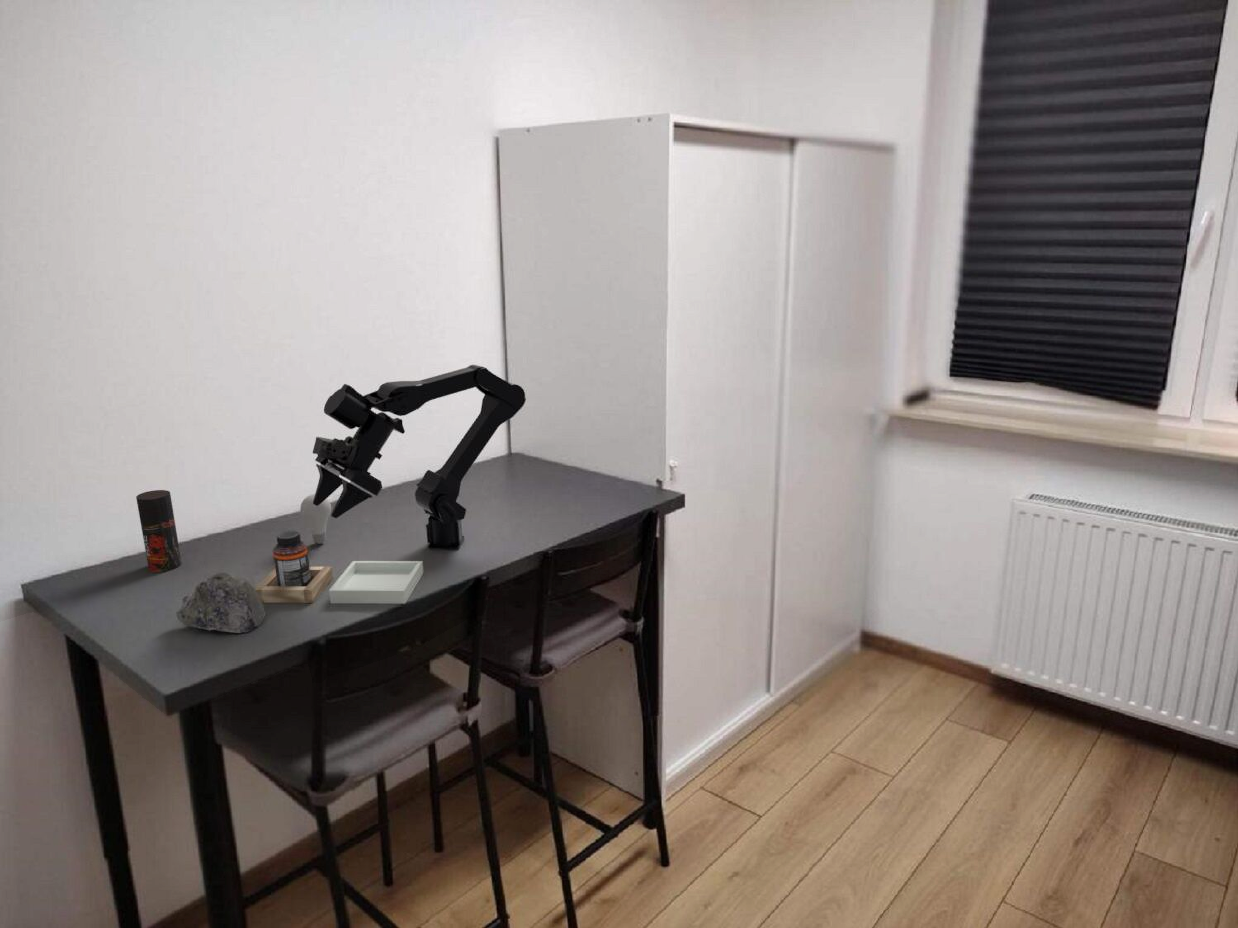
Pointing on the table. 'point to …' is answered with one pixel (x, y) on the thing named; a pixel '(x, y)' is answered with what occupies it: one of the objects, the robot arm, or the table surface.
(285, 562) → the supplement bottle
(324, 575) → the collar socket
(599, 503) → the table surface
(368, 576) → the tray
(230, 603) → the mineral rock
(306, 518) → the lightbulb
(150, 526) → the deodorant
